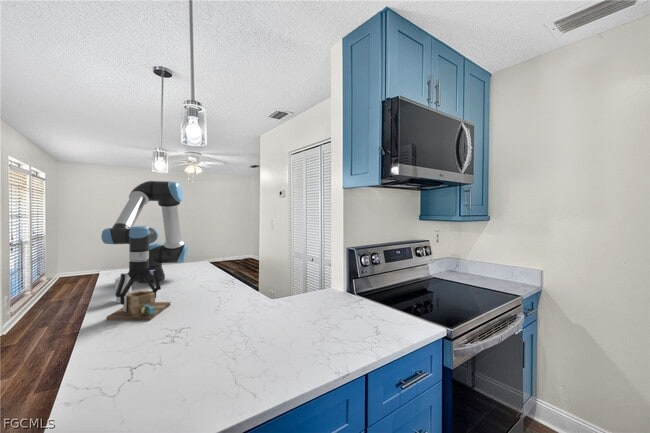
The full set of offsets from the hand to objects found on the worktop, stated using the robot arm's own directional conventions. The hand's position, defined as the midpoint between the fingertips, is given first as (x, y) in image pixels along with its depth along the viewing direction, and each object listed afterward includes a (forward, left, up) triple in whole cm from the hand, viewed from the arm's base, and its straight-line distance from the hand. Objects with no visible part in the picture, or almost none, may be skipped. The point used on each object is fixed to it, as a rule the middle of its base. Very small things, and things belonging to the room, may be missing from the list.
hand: (138, 308), depth 131 cm
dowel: (+8, +6, 0) cm, 10 cm away
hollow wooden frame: (+2, +3, 0) cm, 4 cm away
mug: (-15, -17, -2) cm, 23 cm away
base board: (0, +1, -2) cm, 2 cm away
